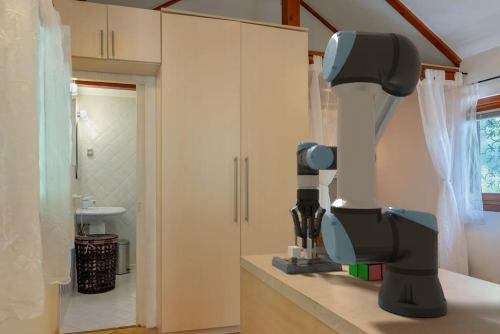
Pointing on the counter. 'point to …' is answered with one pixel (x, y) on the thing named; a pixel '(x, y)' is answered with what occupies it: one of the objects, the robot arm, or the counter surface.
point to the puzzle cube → (368, 271)
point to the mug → (318, 241)
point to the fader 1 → (294, 253)
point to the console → (306, 264)
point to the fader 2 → (313, 248)
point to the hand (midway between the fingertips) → (307, 258)
